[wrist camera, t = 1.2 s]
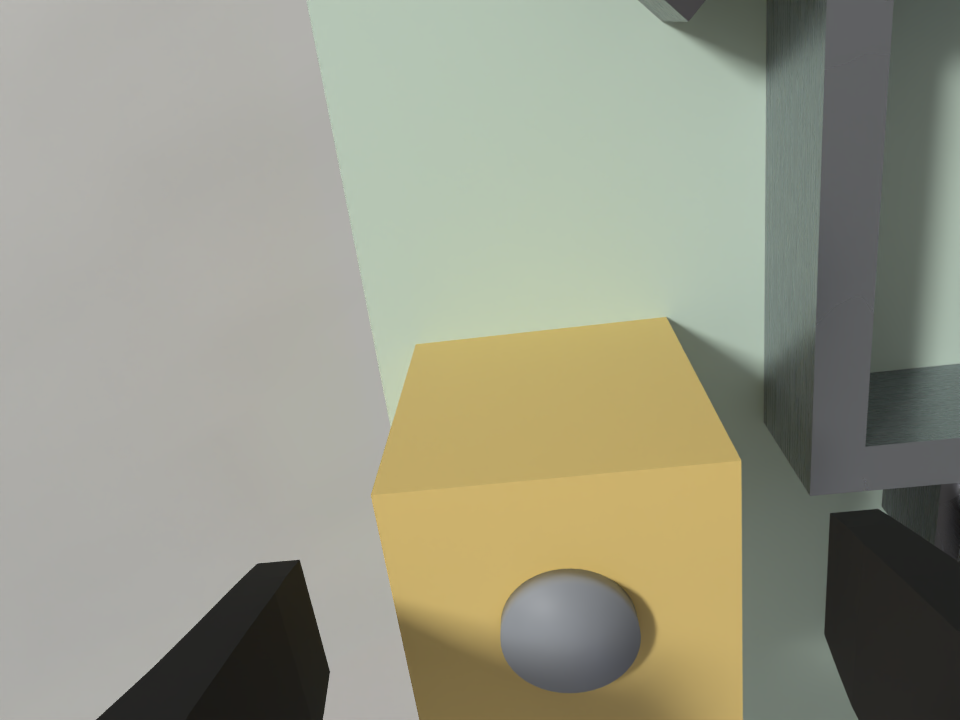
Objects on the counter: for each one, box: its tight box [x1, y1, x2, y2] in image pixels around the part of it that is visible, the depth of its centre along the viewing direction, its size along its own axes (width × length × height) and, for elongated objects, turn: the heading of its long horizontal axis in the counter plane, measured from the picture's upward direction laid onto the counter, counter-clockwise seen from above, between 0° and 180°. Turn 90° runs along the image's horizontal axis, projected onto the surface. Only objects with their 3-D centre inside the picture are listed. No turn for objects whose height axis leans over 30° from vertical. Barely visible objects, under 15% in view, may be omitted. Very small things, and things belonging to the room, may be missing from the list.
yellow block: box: [371, 317, 743, 720], centre depth 13 cm, size 4×4×5 cm
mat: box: [307, 0, 960, 720], centre depth 14 cm, size 22×16×1 cm
